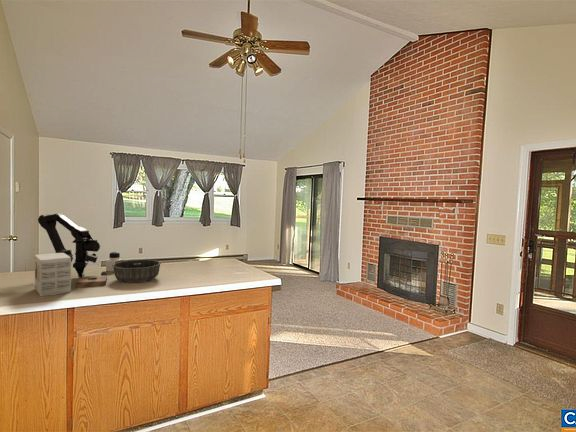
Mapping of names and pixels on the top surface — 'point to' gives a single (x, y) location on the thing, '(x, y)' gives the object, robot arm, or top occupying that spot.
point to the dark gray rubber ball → (103, 273)
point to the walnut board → (91, 281)
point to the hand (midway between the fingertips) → (81, 276)
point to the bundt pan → (136, 270)
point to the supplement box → (52, 273)
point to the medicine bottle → (112, 261)
